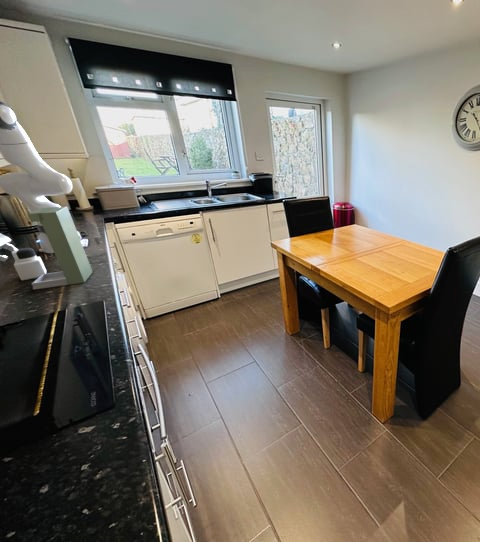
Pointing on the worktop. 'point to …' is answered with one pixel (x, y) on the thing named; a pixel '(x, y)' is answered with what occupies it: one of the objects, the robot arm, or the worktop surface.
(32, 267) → the medicine bottle
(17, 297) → the worktop surface
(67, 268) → the sage green upright pillar
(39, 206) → the robot arm
